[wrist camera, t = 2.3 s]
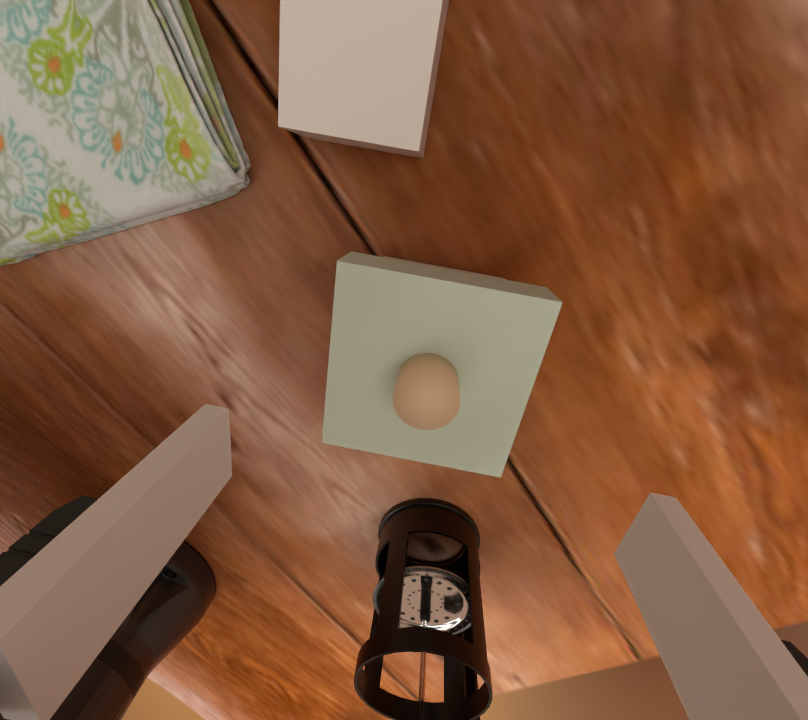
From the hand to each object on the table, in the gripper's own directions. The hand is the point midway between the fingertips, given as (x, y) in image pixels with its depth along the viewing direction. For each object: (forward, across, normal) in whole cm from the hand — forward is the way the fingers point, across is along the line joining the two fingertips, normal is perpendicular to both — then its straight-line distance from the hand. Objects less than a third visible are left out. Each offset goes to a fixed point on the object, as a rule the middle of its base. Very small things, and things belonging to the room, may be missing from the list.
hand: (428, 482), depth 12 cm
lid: (+10, 0, 0) cm, 10 cm away
